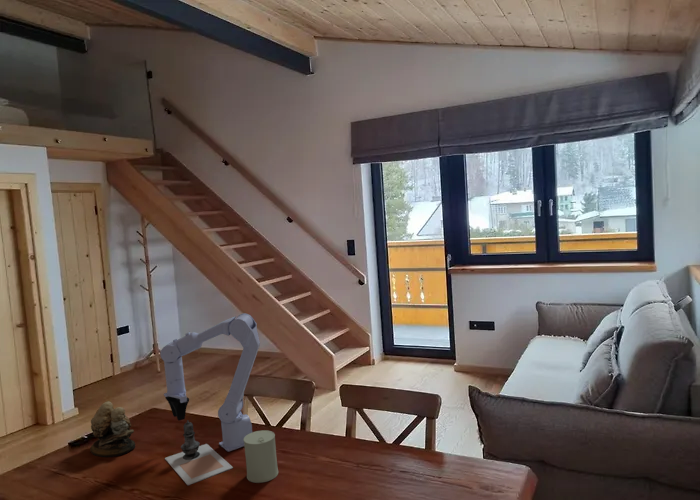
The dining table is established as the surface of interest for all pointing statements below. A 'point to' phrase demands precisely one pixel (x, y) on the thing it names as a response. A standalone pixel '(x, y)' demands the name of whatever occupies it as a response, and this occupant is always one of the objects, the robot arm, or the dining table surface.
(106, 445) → the rock sculpture
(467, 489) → the dining table surface
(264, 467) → the can
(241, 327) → the robot arm
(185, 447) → the dark grey chess piece
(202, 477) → the mat
